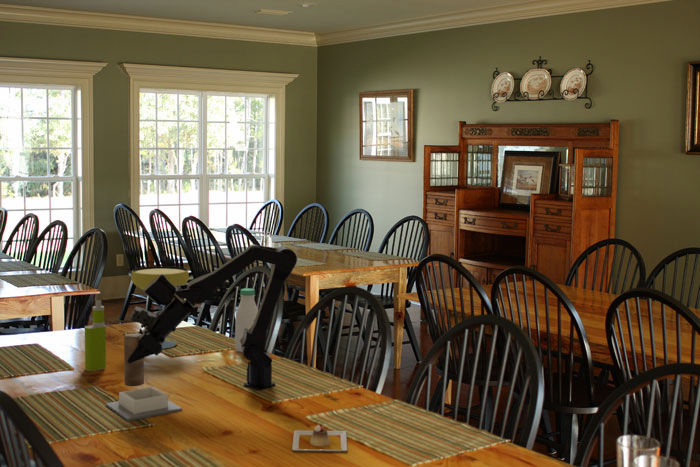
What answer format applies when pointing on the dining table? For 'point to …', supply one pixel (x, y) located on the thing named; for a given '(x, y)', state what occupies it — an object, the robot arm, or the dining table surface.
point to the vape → (96, 340)
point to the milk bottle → (245, 315)
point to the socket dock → (142, 404)
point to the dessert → (319, 439)
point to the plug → (135, 369)
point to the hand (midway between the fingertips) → (128, 359)
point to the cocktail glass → (149, 274)
